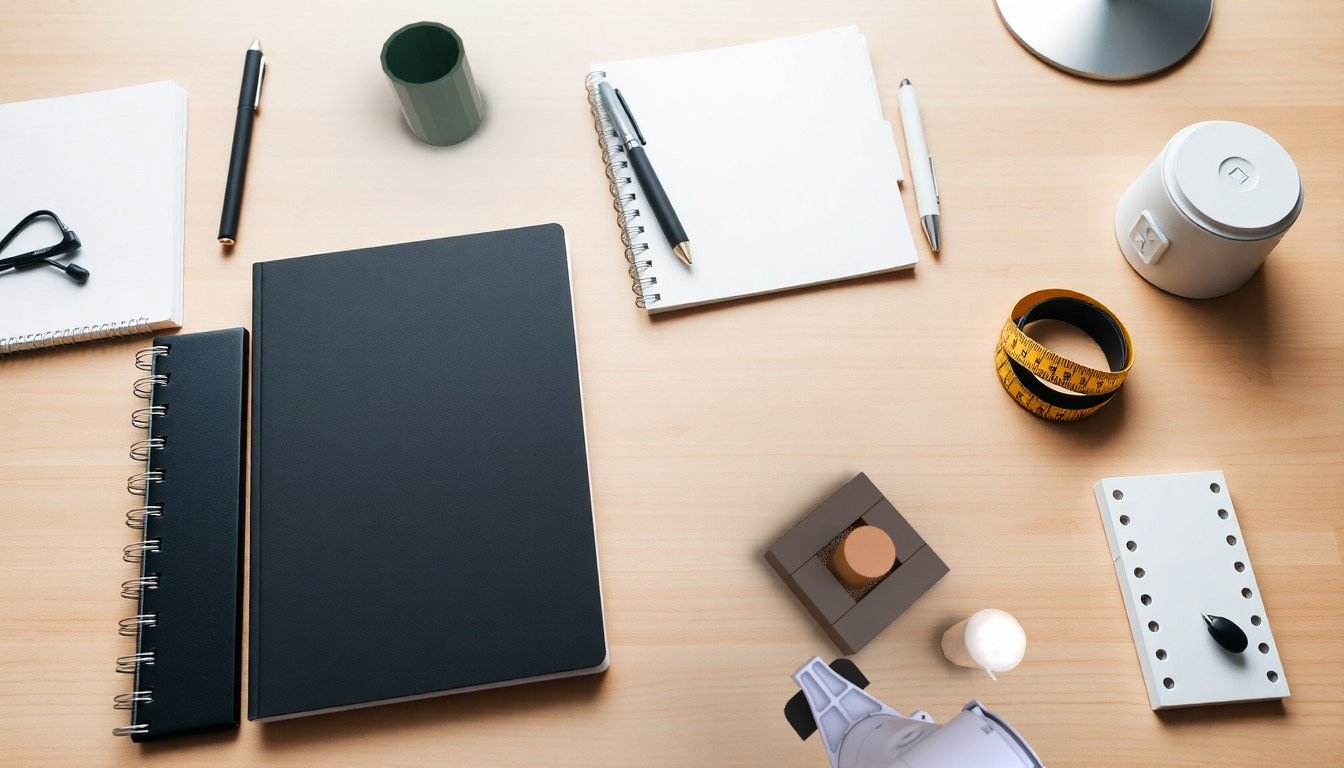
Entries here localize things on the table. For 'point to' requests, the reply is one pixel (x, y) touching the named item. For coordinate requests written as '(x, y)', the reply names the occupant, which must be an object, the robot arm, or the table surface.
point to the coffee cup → (433, 82)
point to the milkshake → (986, 642)
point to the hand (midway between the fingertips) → (853, 752)
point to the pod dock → (820, 587)
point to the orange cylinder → (861, 557)
